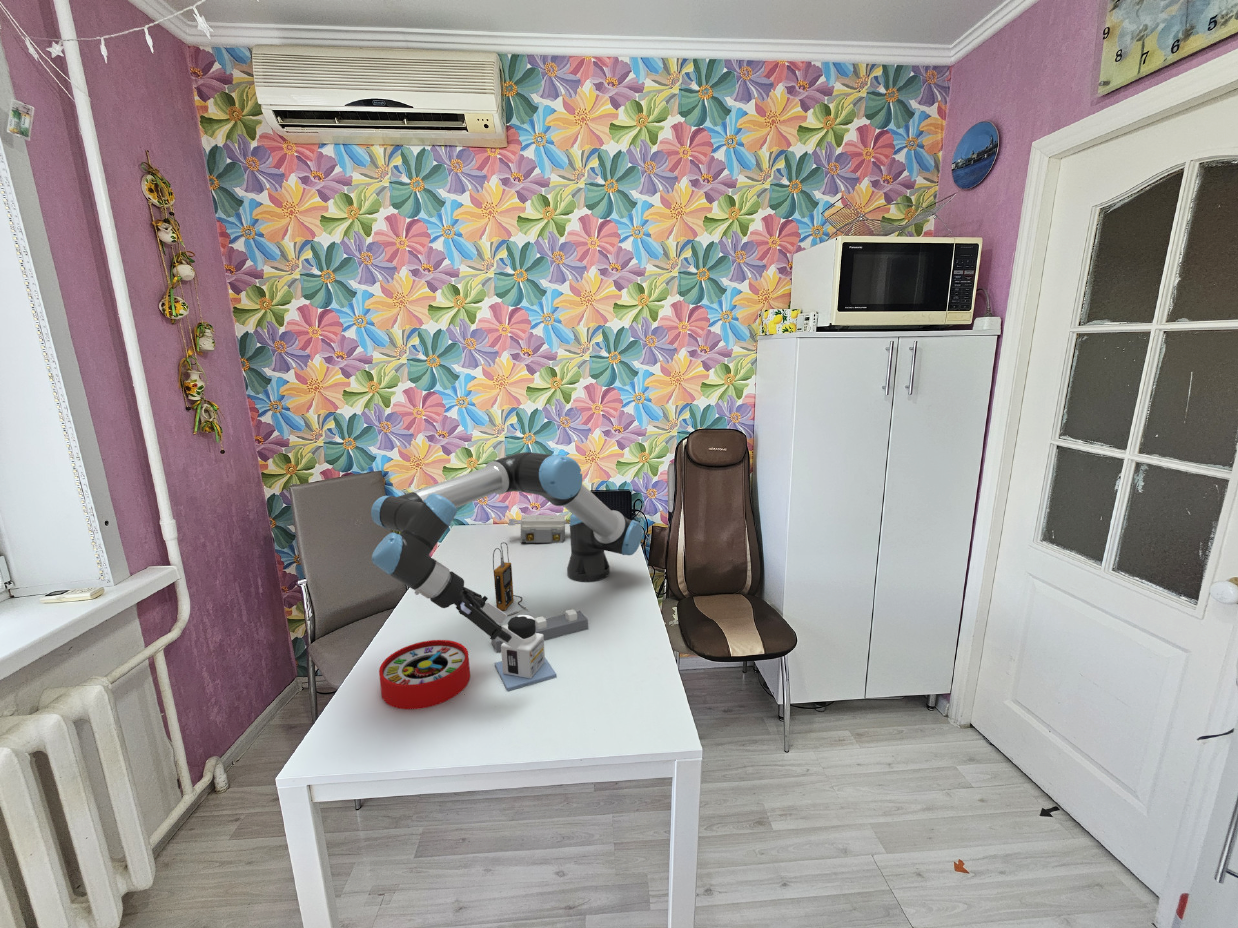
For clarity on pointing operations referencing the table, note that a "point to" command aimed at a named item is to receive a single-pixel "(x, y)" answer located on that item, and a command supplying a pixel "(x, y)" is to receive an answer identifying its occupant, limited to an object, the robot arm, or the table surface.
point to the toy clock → (424, 674)
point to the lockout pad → (518, 682)
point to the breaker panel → (555, 626)
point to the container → (523, 648)
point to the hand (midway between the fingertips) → (511, 631)
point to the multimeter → (504, 584)
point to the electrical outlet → (541, 528)
